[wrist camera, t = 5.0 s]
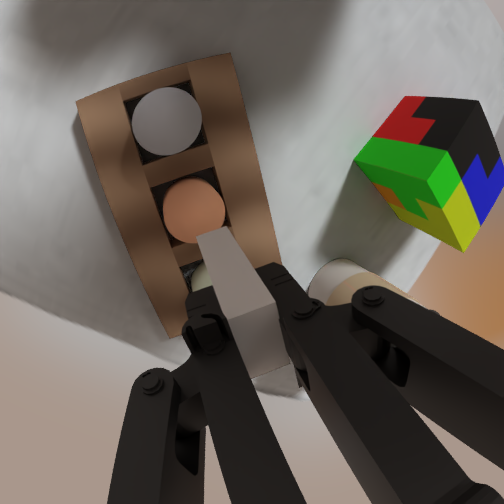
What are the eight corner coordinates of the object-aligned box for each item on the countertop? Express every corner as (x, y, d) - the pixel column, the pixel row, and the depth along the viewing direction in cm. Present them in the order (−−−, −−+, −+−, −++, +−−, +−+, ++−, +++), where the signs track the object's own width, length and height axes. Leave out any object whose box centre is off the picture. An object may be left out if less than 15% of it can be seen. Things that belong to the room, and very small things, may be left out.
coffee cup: (290, 324, 34) (360, 425, 21) (308, 247, 31) (407, 335, 18) (355, 318, 37) (431, 397, 24) (376, 250, 34) (474, 319, 21)
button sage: (183, 267, 26) (188, 287, 23) (233, 249, 27) (244, 267, 24) (200, 309, 28) (206, 331, 25) (246, 292, 29) (257, 312, 26)
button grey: (128, 104, 20) (123, 100, 17) (187, 85, 20) (192, 78, 18) (145, 159, 22) (143, 164, 19) (202, 140, 23) (209, 143, 20)
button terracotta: (155, 186, 24) (155, 195, 21) (208, 168, 25) (215, 175, 22) (172, 236, 26) (175, 251, 23) (222, 218, 27) (232, 231, 24)
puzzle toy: (442, 159, 32) (507, 178, 23) (399, 219, 33) (463, 252, 25) (404, 96, 28) (478, 100, 19) (353, 159, 29) (426, 181, 20)
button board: (81, 103, 20) (75, 101, 18) (224, 57, 22) (230, 52, 20) (168, 326, 30) (169, 338, 28) (281, 284, 32) (288, 294, 30)
